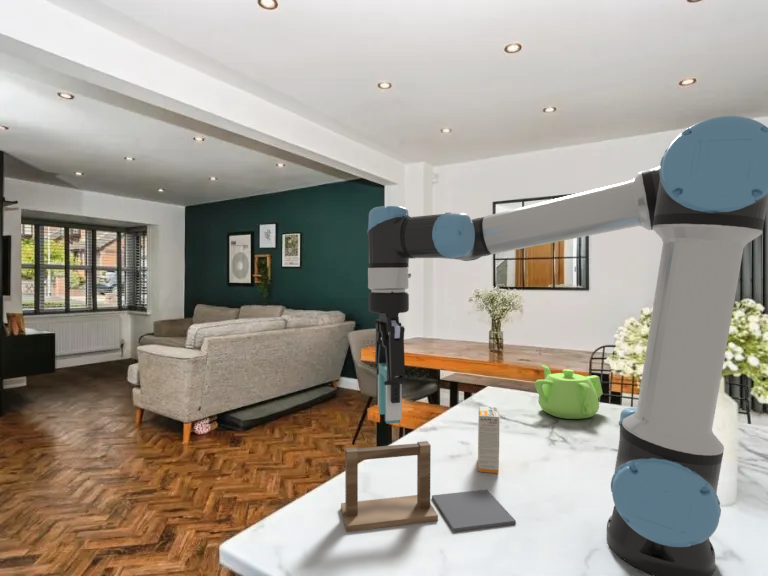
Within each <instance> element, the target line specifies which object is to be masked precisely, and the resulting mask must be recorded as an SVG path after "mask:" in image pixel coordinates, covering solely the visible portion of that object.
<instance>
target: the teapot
mask: <svg viewBox="0 0 768 576" xmlns="http://www.w3.org/2000/svg"><path fill="white" fill-rule="evenodd" d="M540 366H541V367H542V369H543V371H544V373H543V374H544V379H536V380H535V382H534V387H535V391H536V392H537V394H538V404H539V407H540V408H541V410H542V411H543V412H545V413H547V414H548V415H551V416H553V417H556V418H561V419H564V418H565V419H566V420H570V419H571V420H574V419H575V420H576V419H578V420H580V419H588V418H593V417H594V416H595V415H596V414H597V412H598V411H599V409H600V403H599V398H600V397H601V396H602V395H603V394H604V393H603V388H602V384H601V379H600V376H598V375H596V374H594V375H592V374H591V375H588V376H585V375H581V374H578V373H575V370H574V369H569V368H567V369H566V368H565V369H562V370H561V371H562V372H559V373H558V372H557V373H552V372H551V369H550V368H549V366H548V365H545V364H541V365H540Z"/></svg>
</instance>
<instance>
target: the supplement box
mask: <svg viewBox="0 0 768 576" xmlns="http://www.w3.org/2000/svg"><path fill="white" fill-rule="evenodd" d="M477 427H478V428H477V430H478V433H477V436H478V437H477V446H478V447H477V465H478V467H477V468H478V472H479V473H480V472H481V473H490V474H491V473H492V474H499V472H500V471H499V469H500V467H499V465H500V413H499V408H498V407H497V406H478V425H477Z"/></svg>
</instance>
